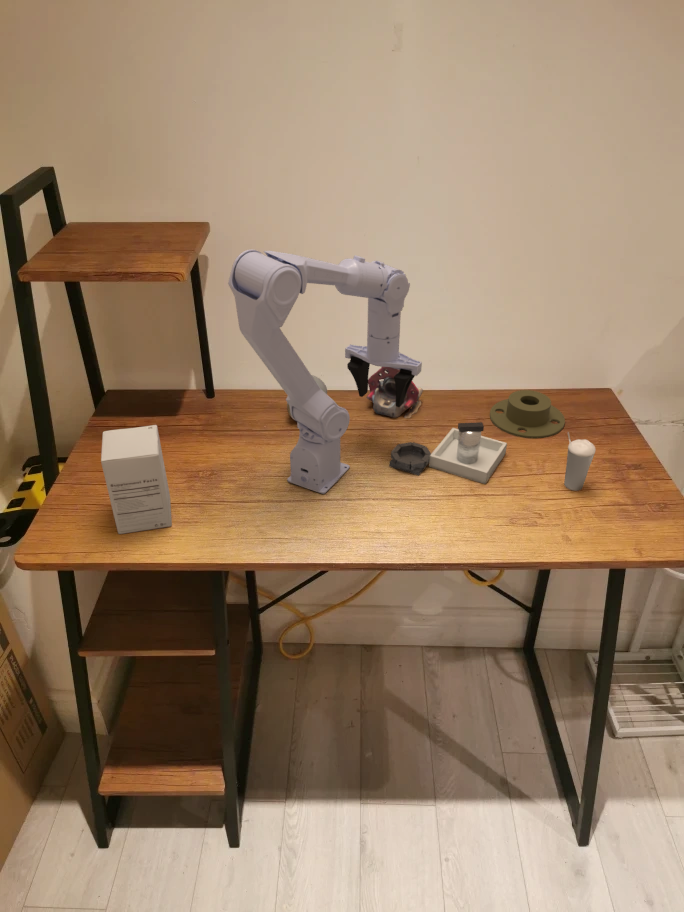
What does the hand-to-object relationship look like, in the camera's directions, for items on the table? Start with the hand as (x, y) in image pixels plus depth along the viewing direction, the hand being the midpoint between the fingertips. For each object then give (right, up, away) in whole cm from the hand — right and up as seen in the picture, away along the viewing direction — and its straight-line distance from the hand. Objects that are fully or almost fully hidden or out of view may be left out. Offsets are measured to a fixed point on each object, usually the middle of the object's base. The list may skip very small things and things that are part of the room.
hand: (381, 399), depth 135 cm
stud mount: (+5, -12, 0) cm, 13 cm away
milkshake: (+34, -16, -5) cm, 38 cm away
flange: (+31, -3, +14) cm, 34 cm away
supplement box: (-41, -21, -12) cm, 47 cm away
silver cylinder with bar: (+16, -11, +1) cm, 20 cm away
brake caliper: (+3, 0, +17) cm, 18 cm away
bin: (+16, -11, +1) cm, 20 cm away
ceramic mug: (-13, -2, +15) cm, 20 cm away
